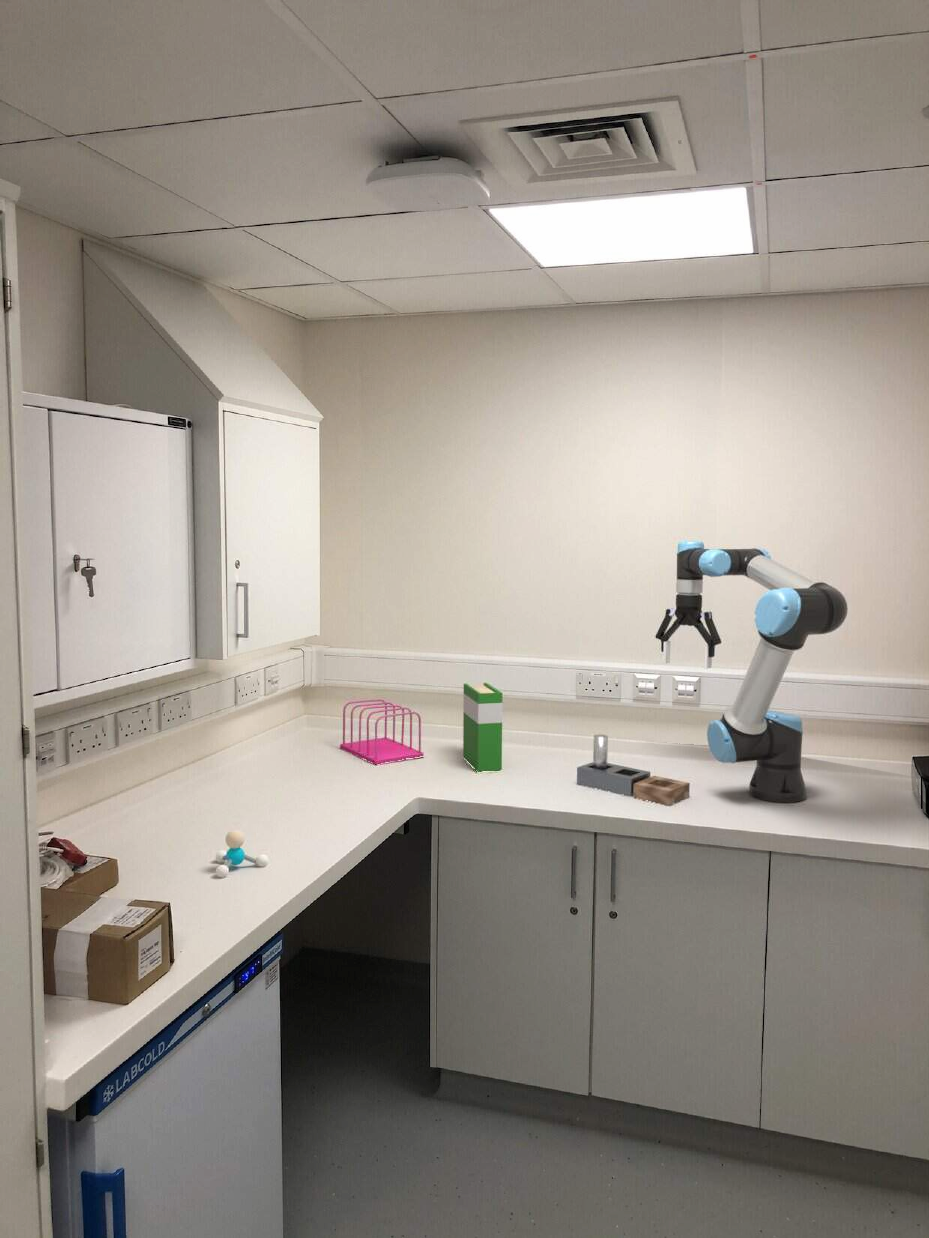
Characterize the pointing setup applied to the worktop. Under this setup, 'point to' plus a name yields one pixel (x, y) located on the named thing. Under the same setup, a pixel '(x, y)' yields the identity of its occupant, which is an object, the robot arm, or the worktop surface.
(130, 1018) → the worktop surface
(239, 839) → the molecule model
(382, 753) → the file sorter
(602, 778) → the block
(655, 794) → the walnut socket block
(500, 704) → the hardback book
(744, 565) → the robot arm
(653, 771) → the worktop surface
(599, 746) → the silver metal cylinder
